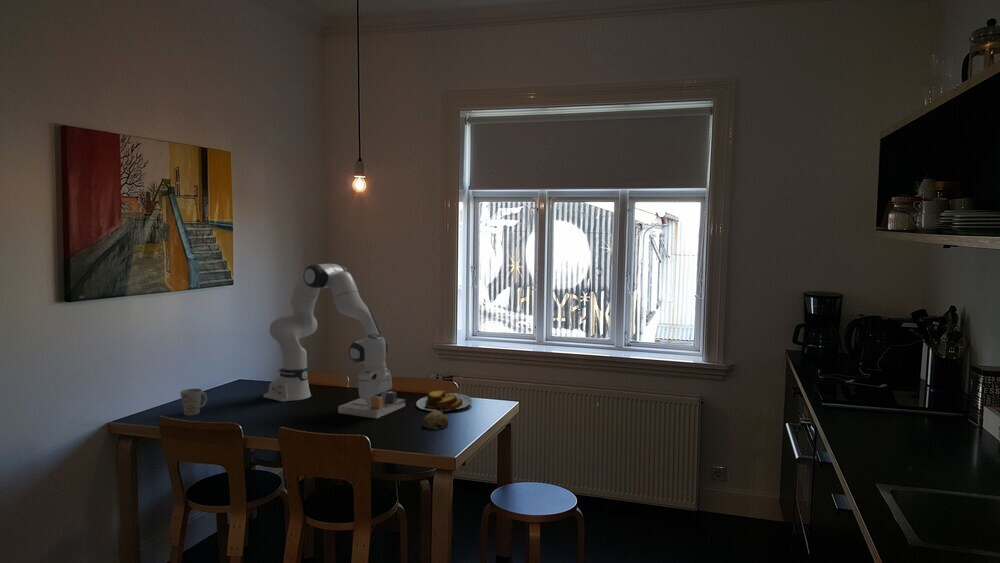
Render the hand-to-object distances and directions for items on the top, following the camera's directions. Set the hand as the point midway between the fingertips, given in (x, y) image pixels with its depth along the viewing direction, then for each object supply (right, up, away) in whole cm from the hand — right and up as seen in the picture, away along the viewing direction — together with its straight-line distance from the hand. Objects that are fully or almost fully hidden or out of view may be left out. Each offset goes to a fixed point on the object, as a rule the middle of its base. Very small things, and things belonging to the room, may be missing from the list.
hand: (376, 403), depth 287 cm
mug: (-79, -4, +2) cm, 79 cm away
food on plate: (+28, -4, +14) cm, 32 cm away
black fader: (+5, -1, +9) cm, 10 cm away
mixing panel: (-3, -4, +7) cm, 9 cm away
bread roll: (+27, -6, -17) cm, 33 cm away
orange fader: (0, -1, 0) cm, 1 cm away
